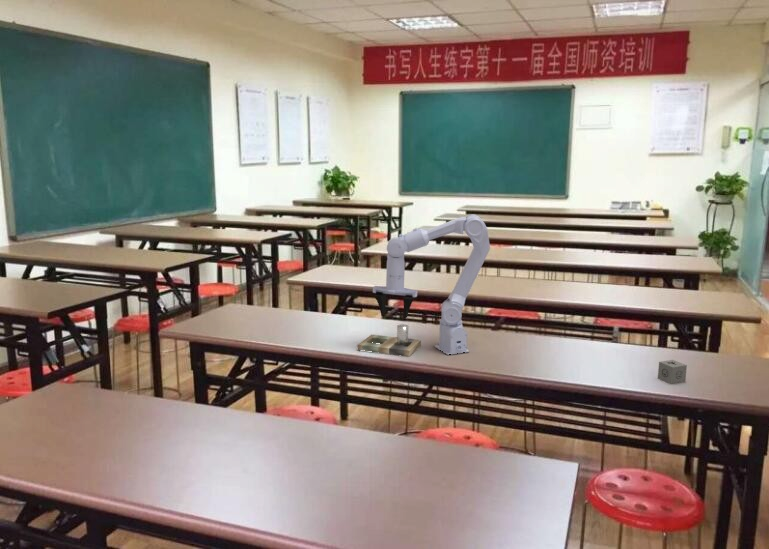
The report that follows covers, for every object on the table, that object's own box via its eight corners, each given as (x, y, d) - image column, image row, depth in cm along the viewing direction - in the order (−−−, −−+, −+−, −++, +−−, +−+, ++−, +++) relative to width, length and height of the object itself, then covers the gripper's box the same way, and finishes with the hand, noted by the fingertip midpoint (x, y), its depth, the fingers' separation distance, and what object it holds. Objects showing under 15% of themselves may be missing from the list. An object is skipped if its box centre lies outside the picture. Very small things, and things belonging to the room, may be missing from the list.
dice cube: (671, 376, 179) (673, 359, 178) (685, 382, 174) (686, 365, 173) (657, 378, 177) (659, 361, 176) (671, 384, 172) (672, 367, 171)
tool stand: (420, 345, 207) (420, 339, 206) (409, 356, 196) (409, 350, 195) (371, 340, 213) (371, 334, 212) (357, 350, 202) (357, 344, 201)
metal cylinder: (410, 350, 202) (410, 326, 200) (399, 352, 200) (399, 327, 199) (405, 347, 205) (405, 323, 203) (395, 348, 203) (395, 325, 202)
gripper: (369, 275, 198) (368, 316, 201) (413, 279, 193) (411, 321, 196) (377, 271, 204) (376, 311, 207) (419, 275, 200) (418, 316, 202)
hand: (394, 316), depth 202 cm, fingers open, 7 cm apart
